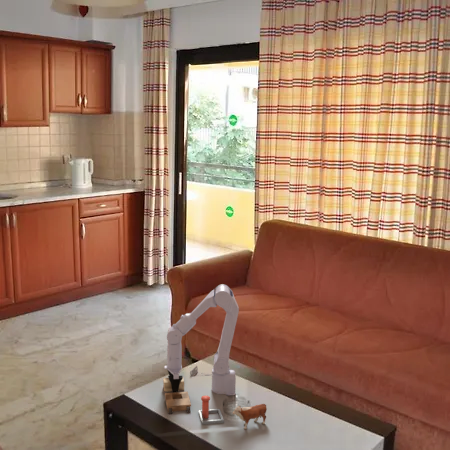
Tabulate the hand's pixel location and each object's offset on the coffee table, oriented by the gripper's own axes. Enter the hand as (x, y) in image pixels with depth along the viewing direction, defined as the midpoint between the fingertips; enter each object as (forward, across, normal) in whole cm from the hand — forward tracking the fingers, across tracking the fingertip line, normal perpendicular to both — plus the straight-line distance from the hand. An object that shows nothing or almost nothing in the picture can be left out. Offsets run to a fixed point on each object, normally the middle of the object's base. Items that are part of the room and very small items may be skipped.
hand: (174, 387), depth 225 cm
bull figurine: (+2, +30, +24) cm, 38 cm away
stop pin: (+1, +23, +9) cm, 25 cm away
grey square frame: (+1, +24, +11) cm, 26 cm away
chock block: (+2, 0, 0) cm, 2 cm away
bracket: (+2, -10, +14) cm, 17 cm away
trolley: (+1, +12, 0) cm, 13 cm away
